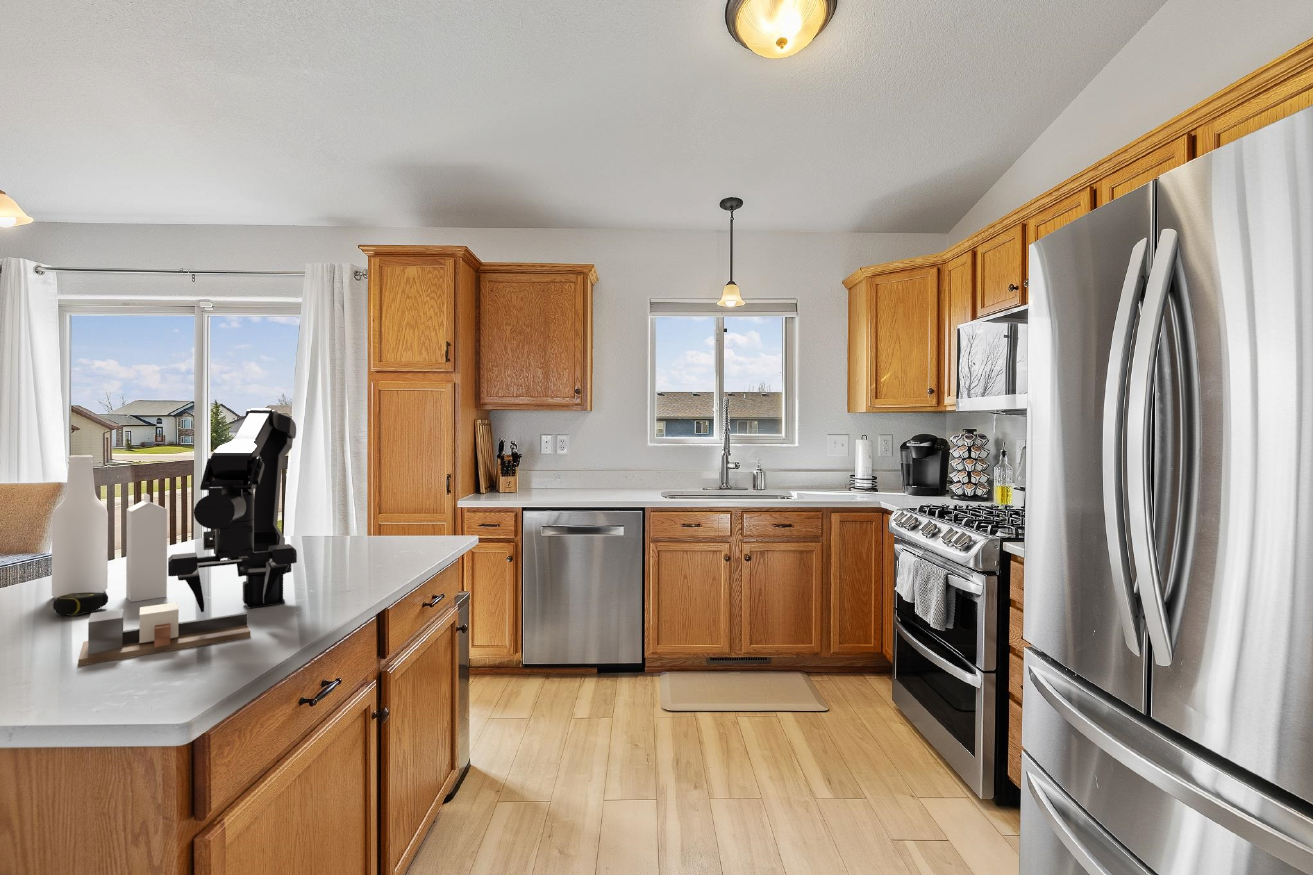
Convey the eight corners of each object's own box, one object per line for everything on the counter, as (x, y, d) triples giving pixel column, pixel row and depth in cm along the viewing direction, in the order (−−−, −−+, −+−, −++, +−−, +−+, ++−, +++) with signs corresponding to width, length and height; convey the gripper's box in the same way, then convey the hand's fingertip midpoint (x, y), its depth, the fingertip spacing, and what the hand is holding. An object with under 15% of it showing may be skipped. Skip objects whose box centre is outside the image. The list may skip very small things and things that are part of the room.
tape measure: (110, 608, 124) (110, 589, 124) (85, 618, 118) (85, 598, 118) (71, 609, 123) (71, 590, 123) (43, 619, 116) (44, 599, 116)
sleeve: (177, 628, 108) (177, 602, 108) (178, 636, 103) (178, 609, 103) (139, 634, 104) (139, 607, 104) (139, 643, 100) (139, 614, 100)
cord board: (243, 622, 116) (243, 590, 116) (250, 637, 108) (250, 602, 108) (83, 647, 102) (83, 611, 102) (78, 666, 94) (78, 626, 94)
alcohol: (97, 587, 139) (98, 454, 139) (114, 593, 135) (115, 455, 134) (44, 596, 131) (45, 455, 131) (60, 602, 127) (61, 456, 127)
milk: (130, 602, 128) (130, 496, 128) (126, 596, 132) (125, 493, 132) (167, 596, 133) (167, 494, 132) (162, 591, 137) (161, 491, 136)
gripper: (288, 511, 123) (287, 589, 123) (168, 518, 111) (167, 605, 111) (297, 518, 114) (296, 602, 114) (168, 527, 102) (168, 621, 102)
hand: (234, 607), depth 111 cm, fingers open, 9 cm apart
